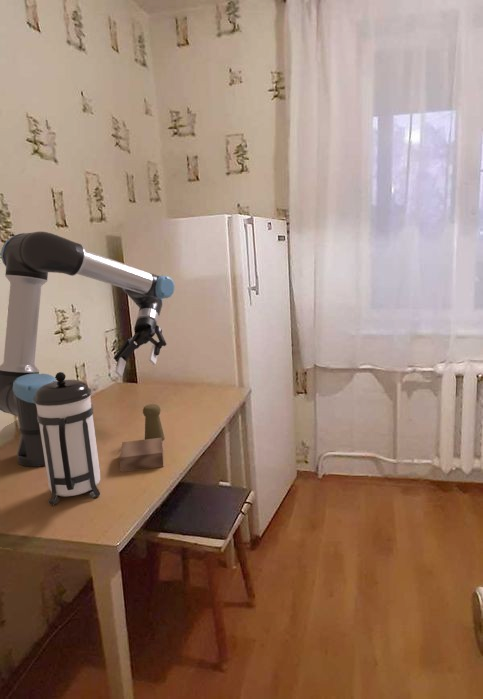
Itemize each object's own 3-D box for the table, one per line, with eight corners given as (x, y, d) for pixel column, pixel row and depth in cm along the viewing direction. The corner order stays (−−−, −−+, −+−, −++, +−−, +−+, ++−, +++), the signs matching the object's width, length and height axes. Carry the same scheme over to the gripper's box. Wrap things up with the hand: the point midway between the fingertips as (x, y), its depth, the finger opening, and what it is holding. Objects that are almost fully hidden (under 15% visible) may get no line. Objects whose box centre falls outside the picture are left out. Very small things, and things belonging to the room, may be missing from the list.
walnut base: (120, 471, 132) (119, 457, 131) (123, 455, 142) (122, 442, 142) (163, 466, 133) (161, 452, 133) (163, 450, 144) (161, 437, 143)
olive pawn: (166, 435, 156) (163, 401, 153) (161, 443, 150) (158, 408, 147) (147, 436, 156) (144, 402, 154) (142, 443, 150) (138, 408, 148)
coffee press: (26, 499, 120) (7, 378, 114) (82, 473, 133) (67, 362, 127) (72, 518, 110) (53, 386, 104) (127, 487, 123) (113, 368, 117)
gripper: (181, 319, 177) (173, 364, 162) (125, 341, 186) (112, 385, 171) (169, 305, 172) (160, 349, 157) (112, 328, 181) (98, 372, 167)
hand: (135, 368), depth 164 cm, fingers open, 13 cm apart
